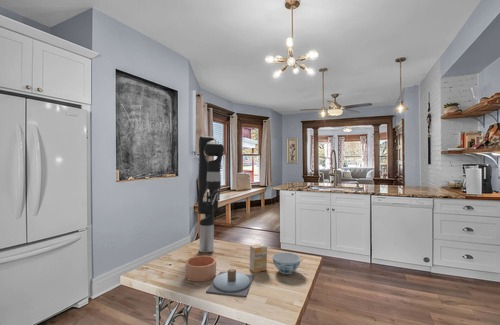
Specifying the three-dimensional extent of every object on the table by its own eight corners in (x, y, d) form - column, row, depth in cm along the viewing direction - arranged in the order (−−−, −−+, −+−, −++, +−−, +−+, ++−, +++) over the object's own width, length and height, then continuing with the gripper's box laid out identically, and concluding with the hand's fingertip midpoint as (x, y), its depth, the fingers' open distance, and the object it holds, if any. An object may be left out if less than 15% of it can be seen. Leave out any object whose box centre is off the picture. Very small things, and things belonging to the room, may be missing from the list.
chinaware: (305, 271, 129) (306, 257, 129) (290, 281, 118) (290, 265, 118) (282, 263, 140) (283, 250, 140) (266, 271, 129) (266, 257, 129)
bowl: (193, 267, 133) (193, 254, 133) (219, 269, 130) (219, 256, 130) (180, 279, 118) (180, 265, 118) (209, 283, 115) (209, 268, 116)
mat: (220, 272, 126) (220, 271, 126) (253, 276, 123) (253, 275, 123) (206, 292, 107) (206, 291, 107) (245, 297, 103) (246, 295, 103)
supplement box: (253, 273, 127) (254, 248, 127) (249, 269, 131) (249, 245, 131) (267, 270, 131) (267, 246, 131) (262, 266, 135) (262, 243, 135)
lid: (219, 273, 125) (220, 262, 125) (252, 276, 122) (252, 264, 122) (208, 289, 108) (208, 276, 108) (245, 293, 105) (245, 280, 105)
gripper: (211, 179, 138) (211, 207, 137) (202, 180, 124) (201, 212, 123) (224, 179, 136) (223, 208, 136) (216, 181, 122) (215, 213, 122)
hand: (213, 210), depth 130 cm, fingers open, 8 cm apart
